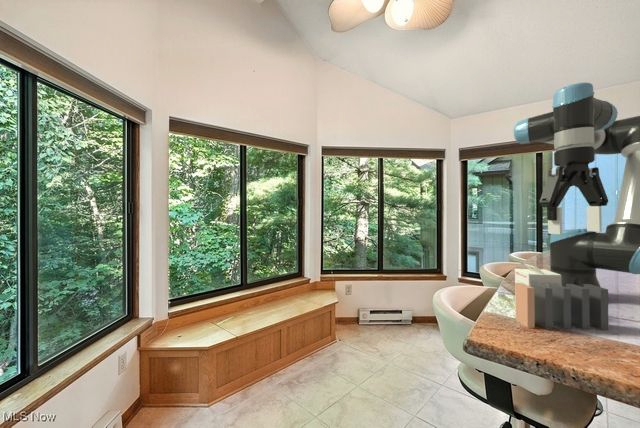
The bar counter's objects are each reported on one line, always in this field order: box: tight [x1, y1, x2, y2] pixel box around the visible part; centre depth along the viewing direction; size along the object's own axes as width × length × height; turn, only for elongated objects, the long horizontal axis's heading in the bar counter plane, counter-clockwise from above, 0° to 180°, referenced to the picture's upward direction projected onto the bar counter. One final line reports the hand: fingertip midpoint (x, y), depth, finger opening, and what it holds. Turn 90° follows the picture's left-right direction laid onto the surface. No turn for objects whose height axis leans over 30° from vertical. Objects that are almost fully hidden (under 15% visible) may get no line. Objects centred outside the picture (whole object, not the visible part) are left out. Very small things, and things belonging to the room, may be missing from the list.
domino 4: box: [566, 284, 591, 331], centre depth 70 cm, size 2×5×10 cm, turn 174°
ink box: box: [514, 263, 562, 307], centre depth 81 cm, size 9×8×13 cm
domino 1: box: [514, 282, 536, 329], centre depth 72 cm, size 2×5×10 cm, turn 174°
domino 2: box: [532, 283, 554, 330], centre depth 71 cm, size 2×5×10 cm, turn 174°
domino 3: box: [549, 284, 572, 330], centre depth 71 cm, size 2×5×10 cm, turn 174°
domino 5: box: [584, 284, 609, 331], centre depth 70 cm, size 2×5×10 cm, turn 174°
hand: (575, 232), depth 70 cm, fingers open, 13 cm apart
